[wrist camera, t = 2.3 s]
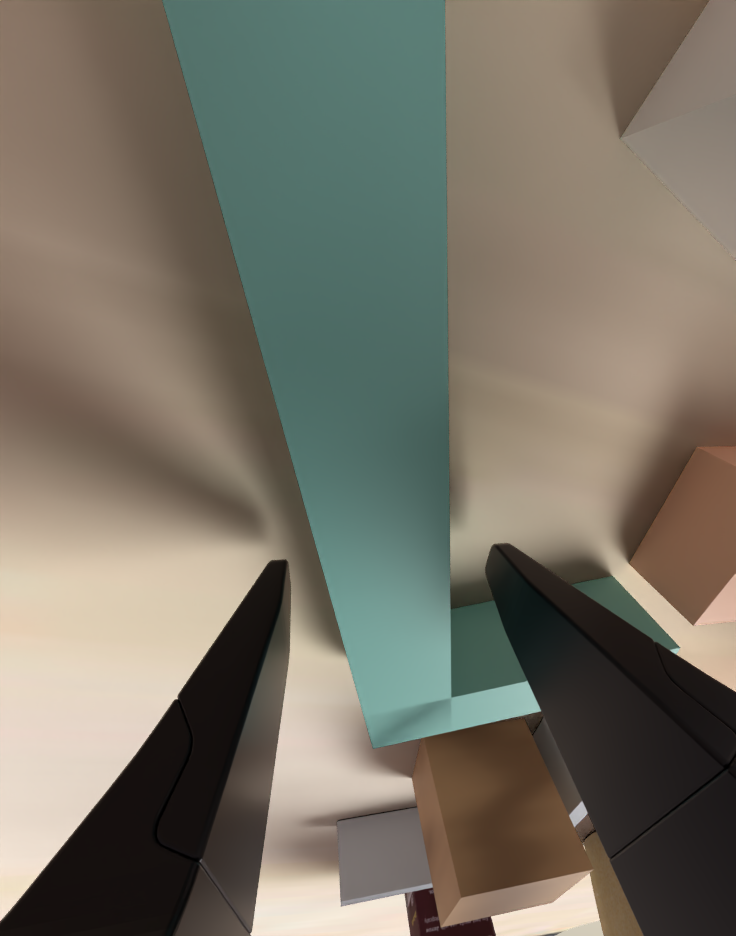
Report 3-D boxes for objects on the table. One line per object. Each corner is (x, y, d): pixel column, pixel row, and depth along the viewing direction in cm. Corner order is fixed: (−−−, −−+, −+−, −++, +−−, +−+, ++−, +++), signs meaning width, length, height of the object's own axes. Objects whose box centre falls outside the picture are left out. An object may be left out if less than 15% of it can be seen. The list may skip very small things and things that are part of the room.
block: (523, 716, 17) (594, 869, 13) (499, 761, 20) (552, 902, 15) (422, 730, 16) (461, 897, 12) (411, 776, 19) (440, 927, 15)
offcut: (752, 443, 10) (869, 492, 8) (676, 556, 12) (752, 619, 10) (691, 444, 10) (797, 496, 8) (625, 560, 12) (693, 625, 10)
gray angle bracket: (591, 696, 17) (642, 776, 14) (526, 793, 23) (553, 862, 20) (334, 732, 15) (339, 830, 12) (337, 827, 21) (340, 906, 18)
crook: (837, -118, 5) (1321, -462, 3) (596, 608, 13) (658, 684, 11) (188, -49, 5) (53, -388, 2) (361, 658, 13) (373, 749, 11)
